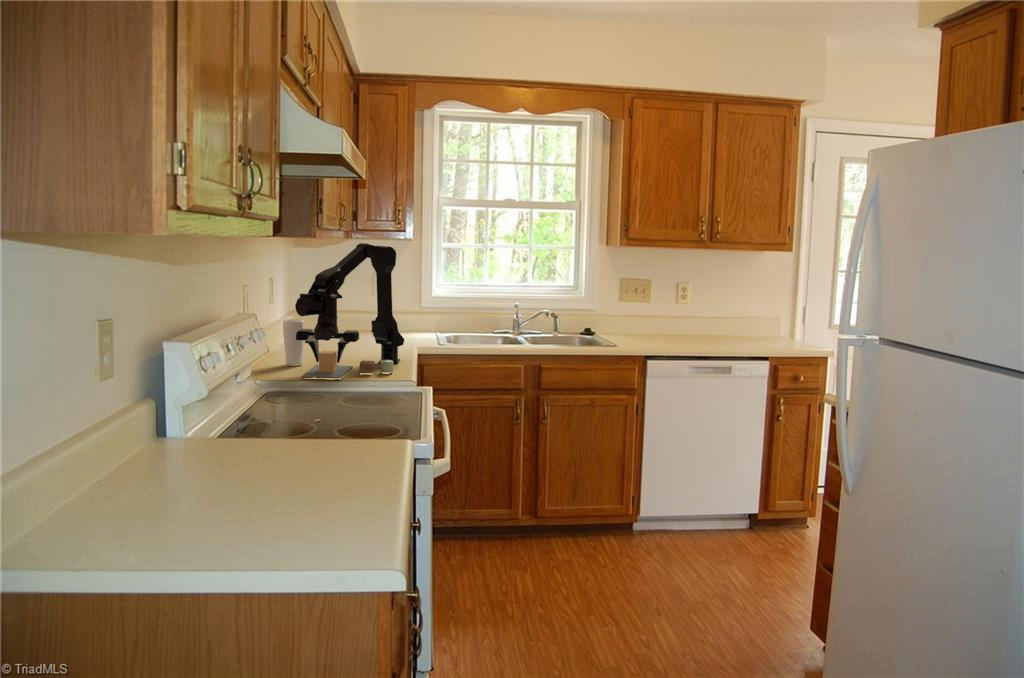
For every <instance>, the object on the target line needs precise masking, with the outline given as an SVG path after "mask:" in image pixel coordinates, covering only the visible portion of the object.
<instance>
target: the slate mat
mask: <svg viewBox="0 0 1024 678" xmlns="http://www.w3.org/2000/svg"><path fill="white" fill-rule="evenodd" d="M350 370H351V371H352V370H354V367H353V365H343V364H342V365H338V364H337V370H336V371H335V372H334V373H332V372H319V364H314V366H313V367H311V368H310V369H309V370H307V371H306V372H305V373H304V374H302V375H301V377H300V378H313V377H316V378H341V377H343V376H344V375H345V374H346V373H348V372H349V371H350ZM351 371H350V372H351ZM350 372H349V373H350ZM349 373H348V374H349Z"/></svg>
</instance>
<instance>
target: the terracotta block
mask: <svg viewBox="0 0 1024 678" xmlns="http://www.w3.org/2000/svg"><path fill="white" fill-rule="evenodd" d="M337 354H338V350H322V351H319V362H318V365H319V372H332V373H334V372H335V371H336V370H337V365H338V363H337Z"/></svg>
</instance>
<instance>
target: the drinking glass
mask: <svg viewBox="0 0 1024 678" xmlns="http://www.w3.org/2000/svg"><path fill="white" fill-rule="evenodd" d="M301 329H305V320H304V319H302V318H288V319H287V318H286V319H283V321H282V334H283V343H284V353H285V365H286V366H288V367H299V366H302V365H303V356H304V355H303V354H304V344H305V340H296V333H297V332H298V331H299V330H301Z"/></svg>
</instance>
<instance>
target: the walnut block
mask: <svg viewBox="0 0 1024 678" xmlns="http://www.w3.org/2000/svg"><path fill="white" fill-rule="evenodd" d="M373 372H374V373H375V360H361V361H360V362H359V374H360V373H373Z"/></svg>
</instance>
